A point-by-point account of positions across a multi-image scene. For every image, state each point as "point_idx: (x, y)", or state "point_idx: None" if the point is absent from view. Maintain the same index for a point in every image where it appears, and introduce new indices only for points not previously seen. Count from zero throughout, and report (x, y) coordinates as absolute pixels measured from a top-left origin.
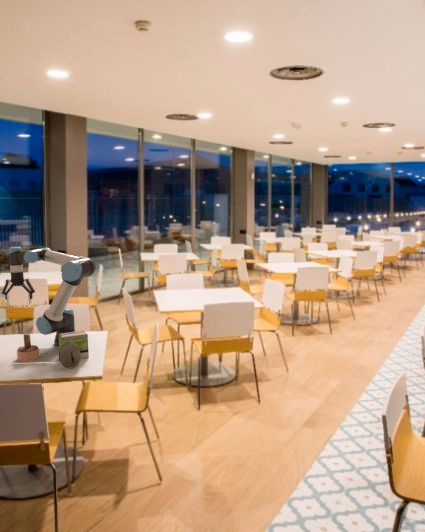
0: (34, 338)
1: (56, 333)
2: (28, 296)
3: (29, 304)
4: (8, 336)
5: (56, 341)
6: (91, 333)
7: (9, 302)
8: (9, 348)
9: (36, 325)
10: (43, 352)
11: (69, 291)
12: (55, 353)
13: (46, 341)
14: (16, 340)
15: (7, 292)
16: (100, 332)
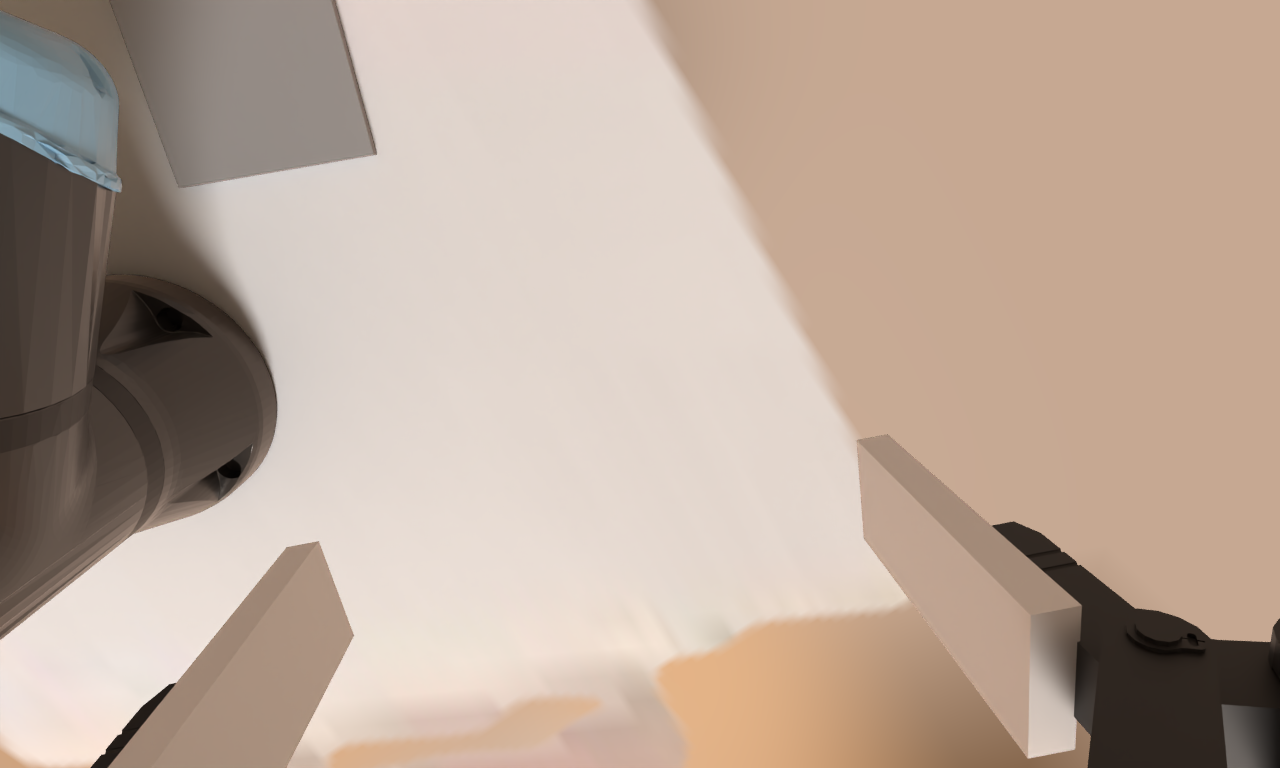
0: (591, 529)
1: (135, 376)
2: (186, 715)
3: (306, 544)
4: (874, 564)
5: (185, 331)
6: (117, 717)
7: (884, 542)
8: (677, 190)
9: (54, 36)
10: (169, 17)
11: None
12: None
13: (413, 449)
14: (738, 456)
15: (1123, 711)
16: (48, 751)
